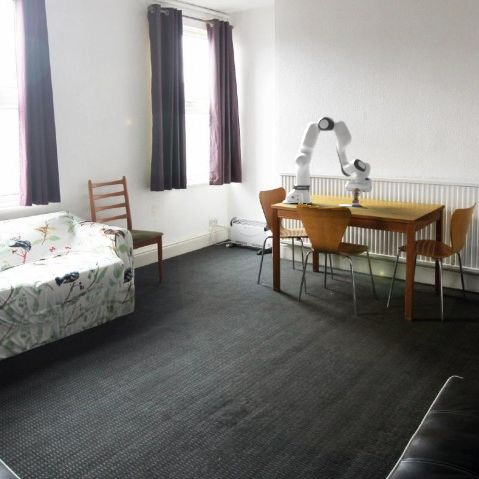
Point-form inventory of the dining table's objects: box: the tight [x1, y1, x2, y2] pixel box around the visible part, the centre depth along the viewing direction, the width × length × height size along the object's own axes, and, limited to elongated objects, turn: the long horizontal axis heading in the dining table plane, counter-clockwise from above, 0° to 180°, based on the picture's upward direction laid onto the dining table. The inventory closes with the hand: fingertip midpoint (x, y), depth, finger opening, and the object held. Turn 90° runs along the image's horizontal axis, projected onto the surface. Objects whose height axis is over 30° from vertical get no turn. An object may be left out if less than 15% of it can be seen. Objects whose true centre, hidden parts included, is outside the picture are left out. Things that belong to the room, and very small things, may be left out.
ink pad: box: [351, 203, 361, 208], centre depth 433 cm, size 6×8×1 cm
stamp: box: [352, 188, 360, 204], centre depth 431 cm, size 4×4×11 cm
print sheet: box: [339, 203, 353, 208], centre depth 436 cm, size 9×9×1 cm
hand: (355, 195), depth 431 cm, fingers closed on stamp, 3 cm apart
